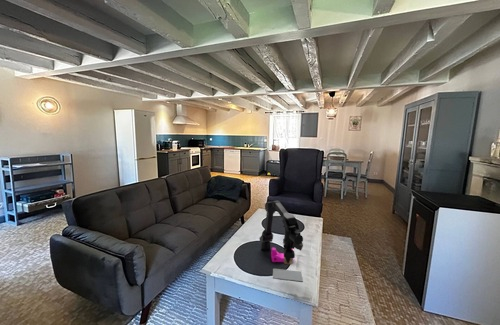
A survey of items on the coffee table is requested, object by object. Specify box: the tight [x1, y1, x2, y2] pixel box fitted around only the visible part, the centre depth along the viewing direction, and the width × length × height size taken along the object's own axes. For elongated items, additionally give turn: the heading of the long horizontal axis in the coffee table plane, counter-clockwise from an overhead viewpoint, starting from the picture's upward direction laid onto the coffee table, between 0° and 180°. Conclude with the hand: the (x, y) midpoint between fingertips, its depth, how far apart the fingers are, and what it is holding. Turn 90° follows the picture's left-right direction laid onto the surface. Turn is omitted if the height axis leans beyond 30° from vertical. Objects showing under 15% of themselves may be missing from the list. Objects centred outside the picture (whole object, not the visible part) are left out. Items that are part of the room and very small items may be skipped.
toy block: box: [270, 246, 294, 263], centre depth 146 cm, size 15×6×8 cm, turn 91°
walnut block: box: [283, 257, 293, 265], centre depth 128 cm, size 5×5×4 cm
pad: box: [272, 268, 304, 283], centre depth 130 cm, size 18×9×1 cm, turn 82°
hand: (287, 260), depth 128 cm, fingers closed on walnut block, 5 cm apart
